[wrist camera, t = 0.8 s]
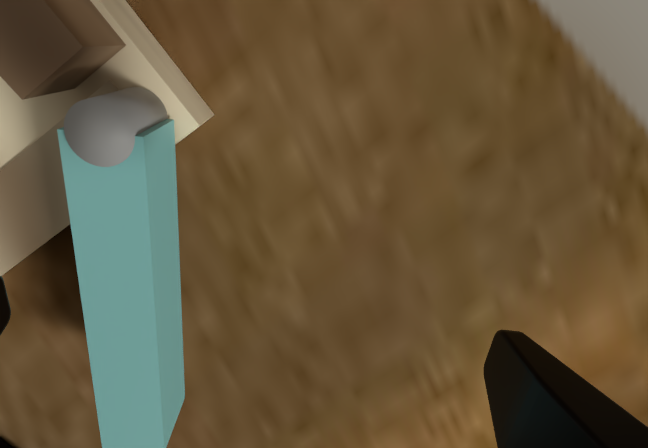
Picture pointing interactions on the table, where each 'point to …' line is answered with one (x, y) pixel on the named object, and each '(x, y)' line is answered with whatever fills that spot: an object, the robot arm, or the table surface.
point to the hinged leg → (127, 260)
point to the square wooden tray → (68, 101)
